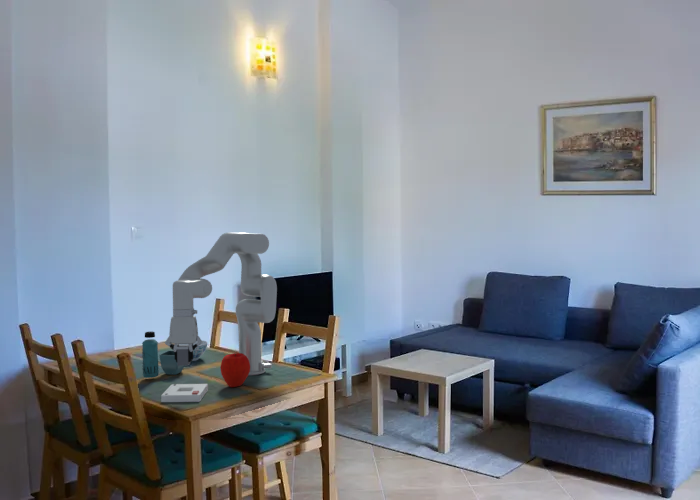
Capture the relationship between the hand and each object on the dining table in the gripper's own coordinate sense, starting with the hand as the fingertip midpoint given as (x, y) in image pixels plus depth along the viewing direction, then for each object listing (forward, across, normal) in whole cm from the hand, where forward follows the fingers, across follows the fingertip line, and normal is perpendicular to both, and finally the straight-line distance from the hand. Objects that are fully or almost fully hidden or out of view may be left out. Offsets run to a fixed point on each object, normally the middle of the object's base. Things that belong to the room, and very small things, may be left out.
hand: (184, 361), depth 260 cm
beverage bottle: (+13, +20, -26) cm, 36 cm away
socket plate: (+13, 0, 0) cm, 13 cm away
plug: (+1, 0, 0) cm, 1 cm away
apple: (+13, -17, -13) cm, 26 cm away
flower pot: (+13, +13, -36) cm, 41 cm away
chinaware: (+13, +11, -63) cm, 66 cm away
